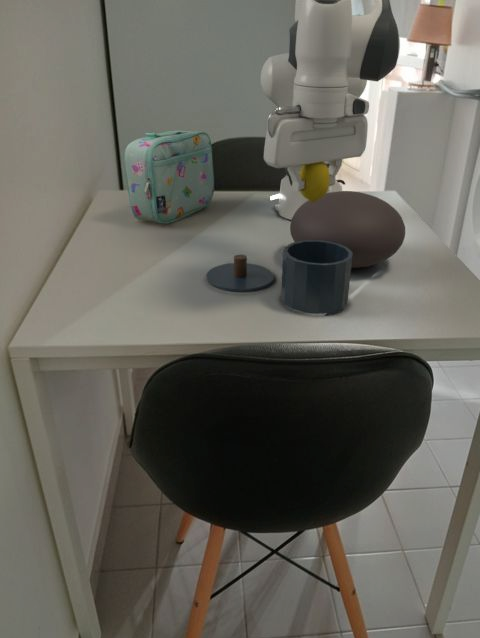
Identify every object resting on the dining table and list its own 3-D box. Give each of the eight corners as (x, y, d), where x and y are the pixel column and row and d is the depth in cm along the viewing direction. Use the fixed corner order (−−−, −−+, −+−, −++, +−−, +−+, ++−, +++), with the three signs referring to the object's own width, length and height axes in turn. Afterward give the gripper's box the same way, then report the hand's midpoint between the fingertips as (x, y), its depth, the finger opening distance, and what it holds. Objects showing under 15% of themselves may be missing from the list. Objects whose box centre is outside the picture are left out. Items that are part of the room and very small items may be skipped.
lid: (231, 263, 132) (231, 240, 129) (285, 277, 126) (286, 253, 123) (193, 284, 122) (192, 259, 119) (250, 300, 116) (250, 275, 113)
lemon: (334, 204, 108) (338, 158, 104) (309, 209, 105) (312, 162, 101) (315, 197, 112) (318, 152, 108) (290, 201, 109) (293, 155, 105)
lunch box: (157, 232, 148) (151, 141, 137) (124, 224, 152) (116, 135, 141) (218, 205, 168) (217, 124, 157) (188, 199, 172) (185, 120, 162)
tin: (301, 282, 124) (303, 235, 119) (357, 297, 118) (363, 249, 113) (269, 304, 114) (270, 254, 109) (329, 322, 109) (334, 270, 104)
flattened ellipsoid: (408, 251, 141) (418, 187, 134) (390, 292, 121) (400, 219, 113) (306, 236, 148) (310, 174, 141) (272, 273, 128) (275, 203, 120)
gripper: (280, 110, 93) (277, 200, 100) (376, 102, 103) (367, 184, 110) (257, 105, 97) (255, 191, 104) (351, 97, 108) (344, 176, 115)
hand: (313, 187), depth 107 cm, fingers closed on lemon, 5 cm apart
